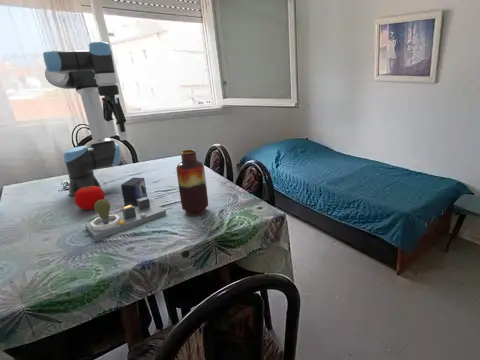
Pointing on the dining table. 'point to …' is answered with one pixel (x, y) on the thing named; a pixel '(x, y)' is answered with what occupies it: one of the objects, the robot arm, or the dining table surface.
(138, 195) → the small box
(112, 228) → the breaker panel
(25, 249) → the dining table surface
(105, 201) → the light bulb
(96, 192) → the tomato
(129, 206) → the tagged toggle
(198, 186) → the vase
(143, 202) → the plain toggle
